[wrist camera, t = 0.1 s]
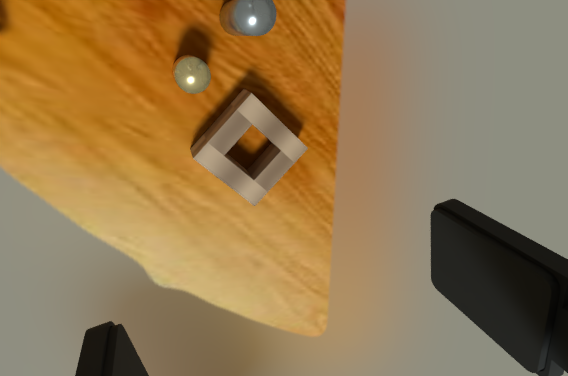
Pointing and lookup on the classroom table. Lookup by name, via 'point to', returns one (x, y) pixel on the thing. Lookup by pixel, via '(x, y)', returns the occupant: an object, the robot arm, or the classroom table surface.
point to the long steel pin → (248, 17)
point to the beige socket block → (229, 131)
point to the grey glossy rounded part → (191, 74)
